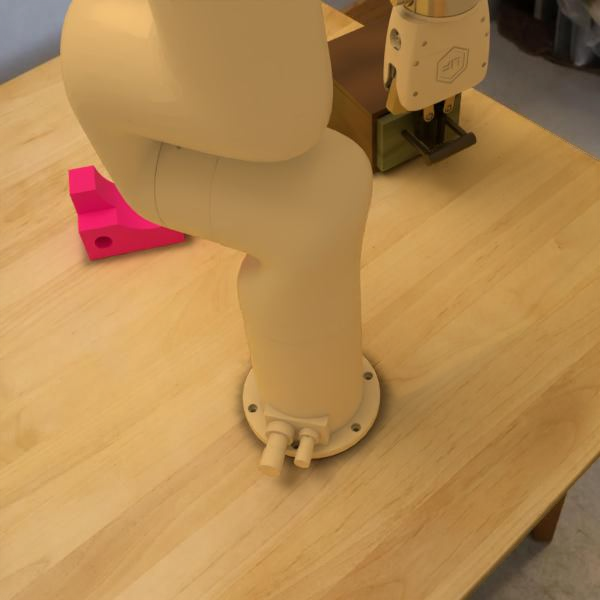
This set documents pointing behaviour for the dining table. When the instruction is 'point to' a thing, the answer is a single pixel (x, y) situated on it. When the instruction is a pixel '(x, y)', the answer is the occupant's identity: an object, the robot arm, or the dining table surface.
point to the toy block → (111, 218)
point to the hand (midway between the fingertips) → (428, 139)
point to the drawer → (404, 145)
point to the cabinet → (359, 85)
